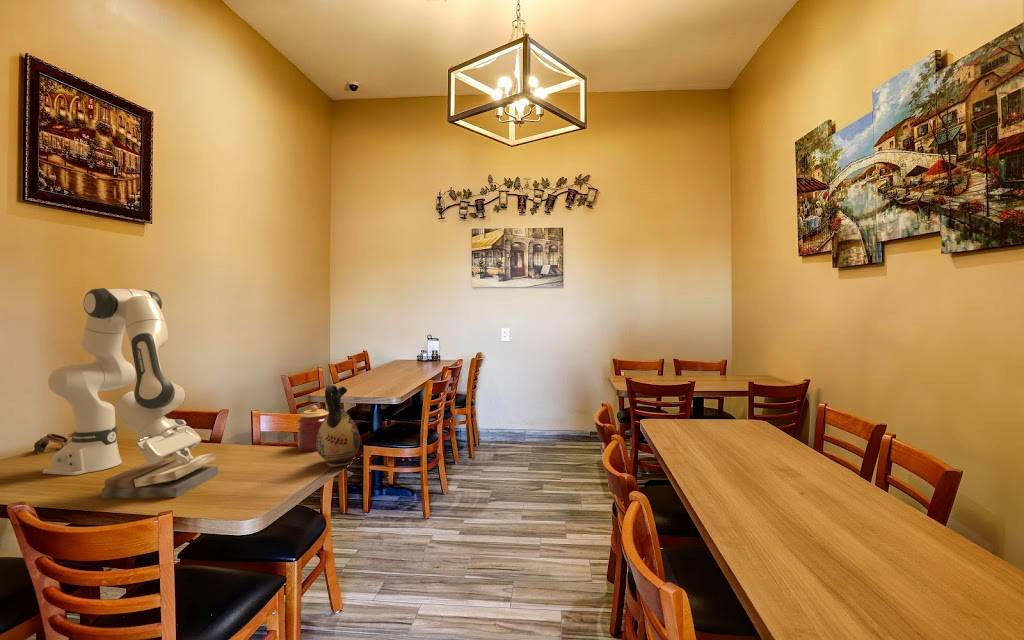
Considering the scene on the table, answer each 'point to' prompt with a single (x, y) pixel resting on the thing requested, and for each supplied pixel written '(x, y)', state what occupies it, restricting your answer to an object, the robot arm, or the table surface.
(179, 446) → the robot arm
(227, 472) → the table surface
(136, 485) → the plank
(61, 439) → the strapped headlamp
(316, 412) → the canister
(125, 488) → the grey flat block
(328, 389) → the ceramic jug
